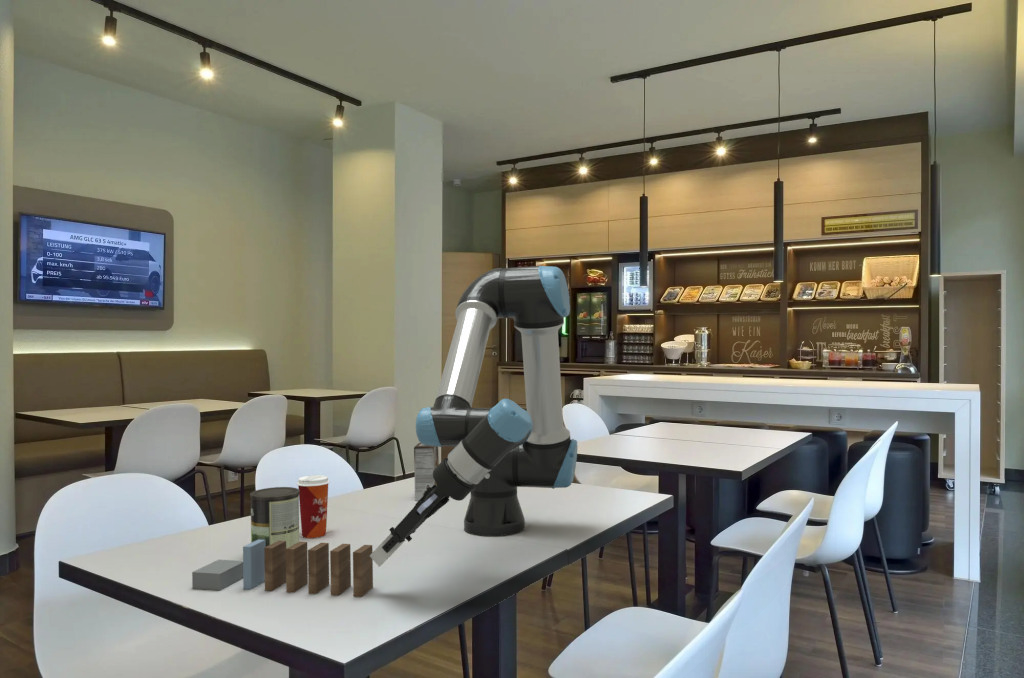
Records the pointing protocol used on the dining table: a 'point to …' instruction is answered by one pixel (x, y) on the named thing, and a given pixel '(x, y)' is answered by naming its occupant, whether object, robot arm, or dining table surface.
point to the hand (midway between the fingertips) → (375, 560)
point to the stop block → (217, 575)
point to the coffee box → (424, 468)
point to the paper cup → (313, 505)
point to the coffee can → (275, 515)
